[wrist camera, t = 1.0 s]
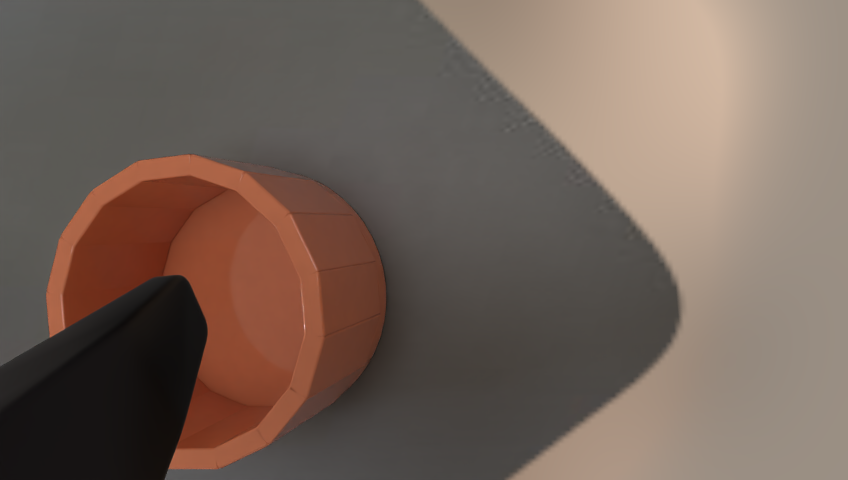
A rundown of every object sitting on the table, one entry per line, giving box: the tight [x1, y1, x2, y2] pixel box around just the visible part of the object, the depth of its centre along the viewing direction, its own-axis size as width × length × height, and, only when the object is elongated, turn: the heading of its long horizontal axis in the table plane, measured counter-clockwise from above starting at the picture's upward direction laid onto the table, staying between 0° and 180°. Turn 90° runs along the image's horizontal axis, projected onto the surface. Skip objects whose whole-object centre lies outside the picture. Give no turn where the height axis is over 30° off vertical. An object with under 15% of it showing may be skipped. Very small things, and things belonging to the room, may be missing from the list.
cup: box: [46, 154, 386, 469], centre depth 22 cm, size 9×9×6 cm
